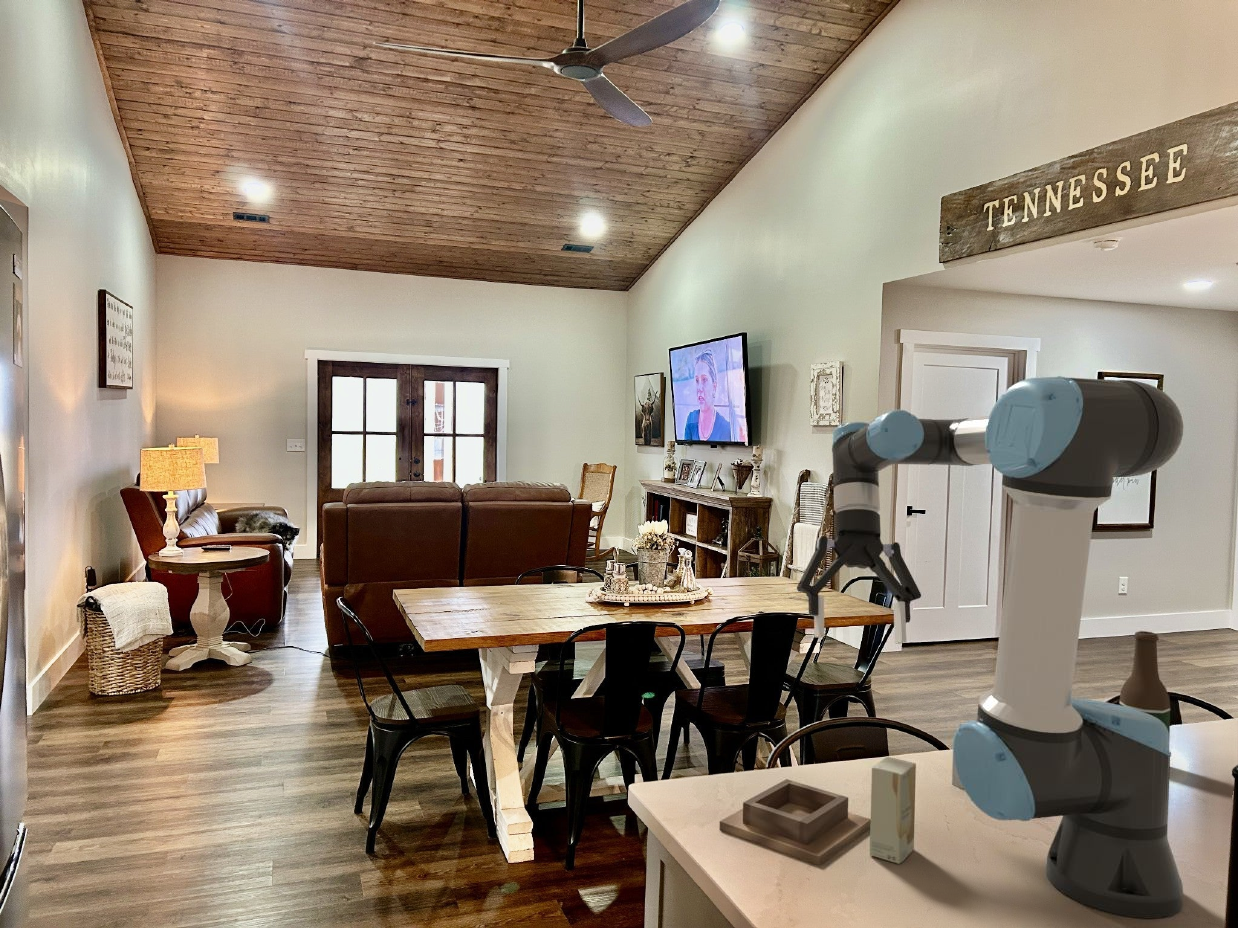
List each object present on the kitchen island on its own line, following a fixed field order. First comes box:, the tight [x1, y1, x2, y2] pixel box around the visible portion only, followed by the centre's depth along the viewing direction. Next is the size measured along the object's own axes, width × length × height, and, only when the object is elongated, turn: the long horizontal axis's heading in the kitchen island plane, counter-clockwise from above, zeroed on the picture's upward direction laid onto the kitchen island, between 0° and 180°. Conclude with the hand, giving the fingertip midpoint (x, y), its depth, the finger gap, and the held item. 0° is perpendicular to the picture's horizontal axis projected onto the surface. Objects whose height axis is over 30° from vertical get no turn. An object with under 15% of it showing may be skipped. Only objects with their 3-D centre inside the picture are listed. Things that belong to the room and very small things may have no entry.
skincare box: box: [869, 756, 917, 864], centre depth 119 cm, size 6×4×12 cm
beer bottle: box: [1119, 630, 1171, 740], centre depth 154 cm, size 8×8×24 cm
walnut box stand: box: [719, 778, 871, 866], centre depth 126 cm, size 16×16×4 cm
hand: (860, 639), depth 139 cm, fingers open, 13 cm apart
